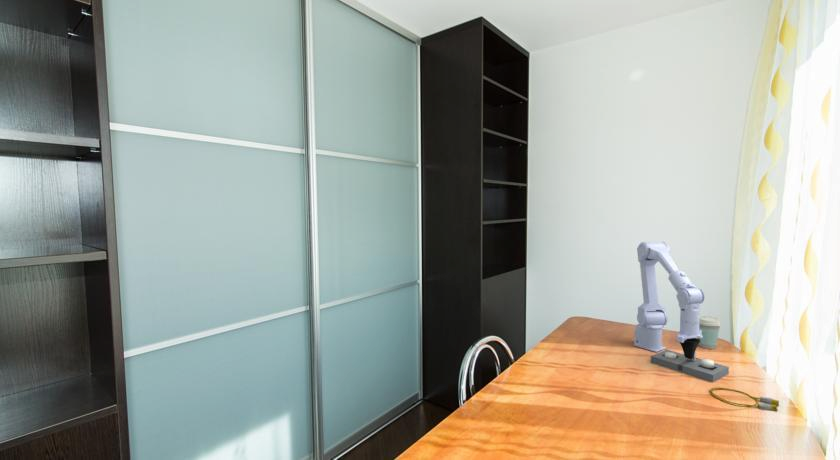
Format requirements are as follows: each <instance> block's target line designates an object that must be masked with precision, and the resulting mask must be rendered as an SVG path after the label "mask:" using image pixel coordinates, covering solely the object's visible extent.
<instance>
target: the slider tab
mask: <svg viewBox="0 0 840 460" xmlns="http://www.w3.org/2000/svg"><path fill="white" fill-rule="evenodd" d="M696 354H697V353H696V351H695V354H694V357H693V359H688V358H685V359H688V360H691V361H696V360H697V359H696V358H697V357H696V356H697V355H696Z"/></svg>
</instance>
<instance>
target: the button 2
mask: <svg viewBox="0 0 840 460" xmlns="http://www.w3.org/2000/svg"><path fill="white" fill-rule="evenodd" d="M700 359H701V365H702V366H703V367H706V368H714V363H715V361H714V359H711V358H705V357H704V358H700Z"/></svg>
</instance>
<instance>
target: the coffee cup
mask: <svg viewBox="0 0 840 460" xmlns="http://www.w3.org/2000/svg"><path fill="white" fill-rule="evenodd" d="M720 326H721V321H720V319H719V318H716V317H712V316H706V315H700V321H699V330H702V335H703V338H697V339H700V340H701V341H700V343H699V344H698V347H700V348H702V349H705V348H706V349H707V350H716V349H717V343H718V337H719V333H720Z"/></svg>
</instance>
